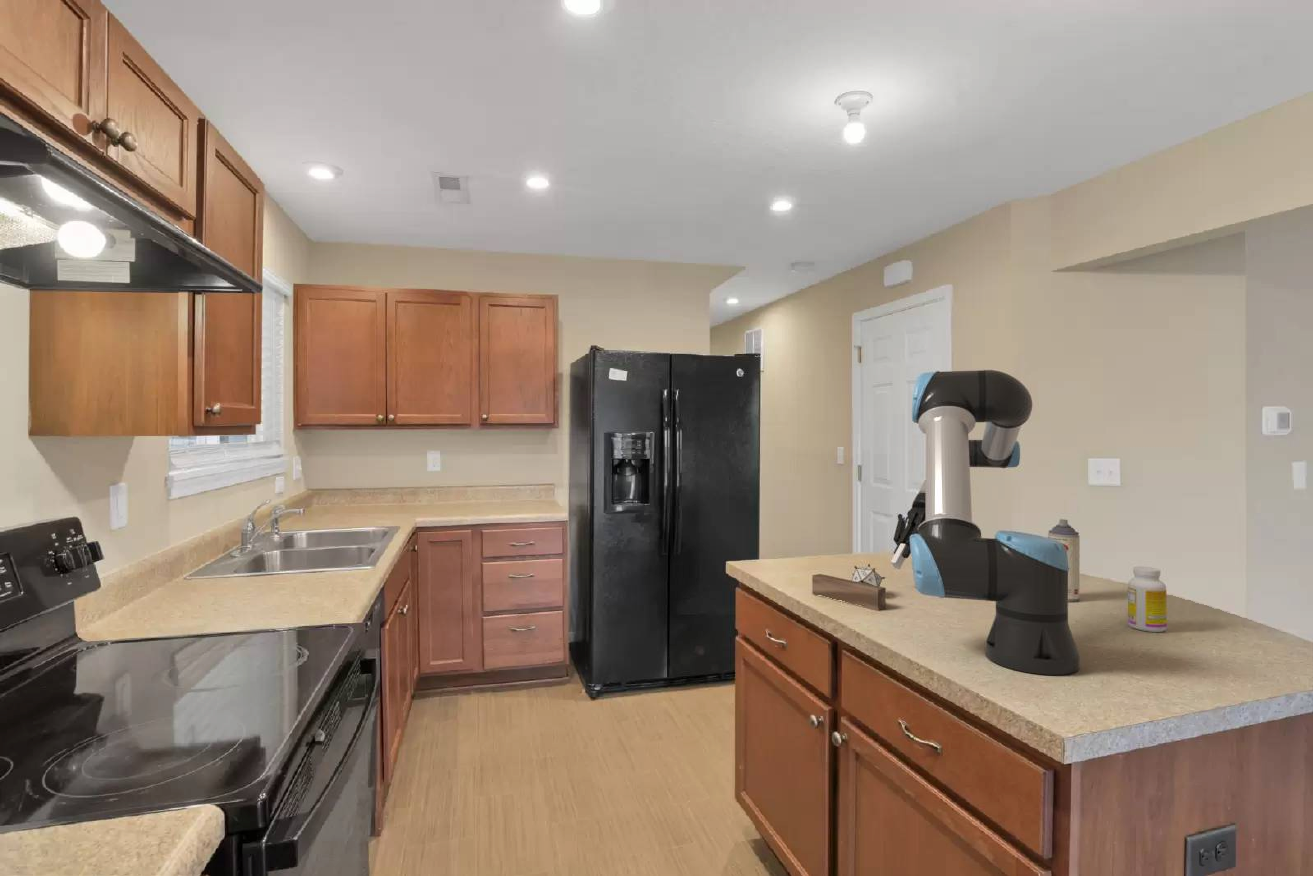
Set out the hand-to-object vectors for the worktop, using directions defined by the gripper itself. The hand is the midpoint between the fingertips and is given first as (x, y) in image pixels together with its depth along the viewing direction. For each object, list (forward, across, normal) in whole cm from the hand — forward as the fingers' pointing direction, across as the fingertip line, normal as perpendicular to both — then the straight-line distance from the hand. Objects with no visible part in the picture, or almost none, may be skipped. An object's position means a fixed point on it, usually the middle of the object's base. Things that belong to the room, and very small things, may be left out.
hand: (895, 565), depth 179 cm
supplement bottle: (-4, -53, -14) cm, 55 cm away
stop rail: (+19, 0, +9) cm, 21 cm away
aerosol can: (-13, -31, -23) cm, 41 cm away
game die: (+13, 0, +4) cm, 14 cm away
